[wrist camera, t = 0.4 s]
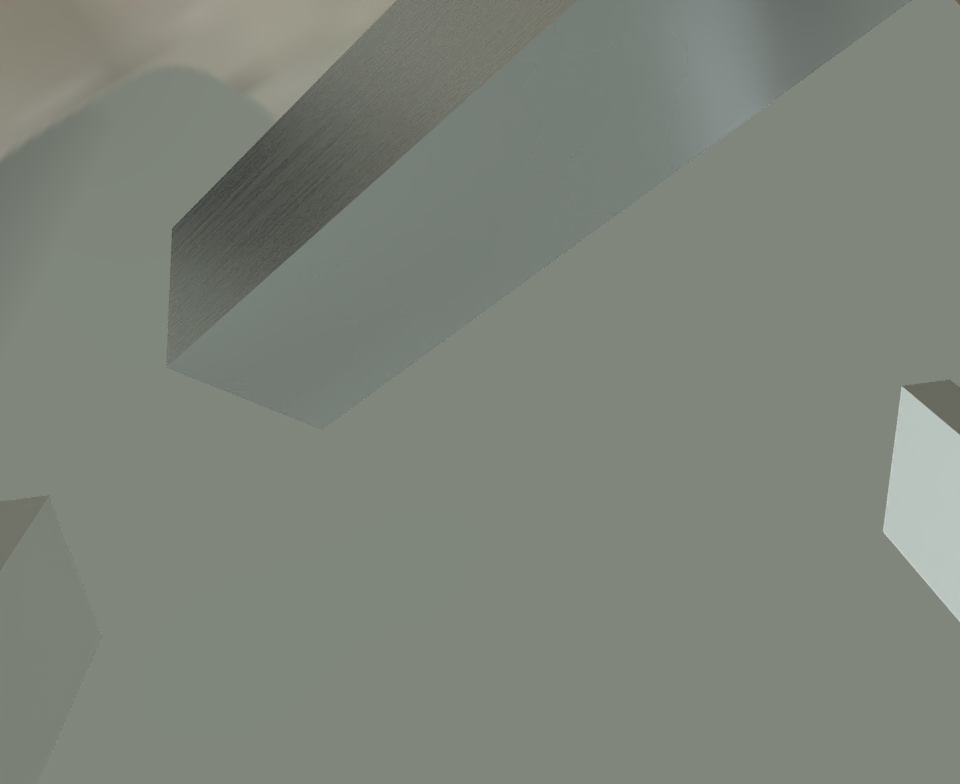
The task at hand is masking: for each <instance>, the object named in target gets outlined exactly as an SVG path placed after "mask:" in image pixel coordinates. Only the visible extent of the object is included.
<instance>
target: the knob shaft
mask: <svg viewBox="0 0 960 784" xmlns="http://www.w3.org/2000/svg"><path fill="white" fill-rule="evenodd" d="M910 1H911V0H396V1H395V2H394V3H393V4H392V5H391V6H390V7H389V8H388V9H387V10H386V12H385V13H384V14H383V15H382V16H381V17H380V18H379V19H378V20H377V21H376V22H375V23H374V24H373V25H372V26H371V27H370V28H369V29H368V30H367V31H366V32H365V33H364V34H363V35H362V36H361V37H360V38H359V39H358V40H357V41H356V42H355V43H354V44H353V45H352V46H351V47H350V48H349V49H348V50H347V51H346V52H345V53H344V54H343V55H342V56H341V57H340V58H339V59H338V60H337V61H336V62H335V63H334V64H333V65H332V66H331V67H330V68H329V69H328V71H327V72H326V73H325V74H324V75H323V76H322V77H321V78H320V79H319V80H318V81H317V82H316V83H315V84H314V85H313V86H312V87H311V88H310V89H309V90H308V91H307V92H306V93H305V94H304V95H303V96H302V97H301V98H300V99H299V100H298V101H297V102H296V103H295V104H294V105H293V106H292V107H291V108H290V109H289V110H288V111H287V112H286V113H285V114H284V115H283V116H282V117H281V118H280V119H279V120H278V121H277V122H276V123H275V124H274V126H272V127H271V129H269V131H268V132H267V133H266V134H265V135H264V136H263V137H262V138H261V139H260V140H259V141H258V142H257V143H256V144H255V145H254V146H253V147H252V148H251V149H250V150H249V151H248V152H247V153H246V154H245V155H244V156H243V157H242V158H241V159H240V160H239V161H238V162H237V163H236V164H235V165H234V166H233V167H232V168H231V169H230V170H229V171H228V172H227V173H226V174H225V175H224V176H223V177H222V178H221V179H220V180H219V181H218V182H217V183H216V184H215V185H214V187H212V189H211V190H210V191H209V192H208V193H207V194H206V195H205V196H204V197H203V198H202V199H201V200H200V201H199V202H198V203H197V204H196V205H195V206H194V207H193V208H192V209H191V210H190V211H189V212H188V213H187V214H186V215H185V216H184V217H183V218H182V219H181V220H180V221H179V222H178V223H177V224H176V225H175V226H174V227H173V228H172V244H171V269H170V293H169V316H168V340H167V341H168V342H167V364H166V366H167V368H170V369H172V370H174V371H177V372H179V373H182V374H184V375H187V376H189V377H192V378H194V379H197V380H199V381H202V382H204V383H207V384H210V385H212V386H215V387H217V388H219V389H222V390H225V391H227V392H229V393H232V394H234V395H237V396H240V397H242V398H244V399H247V400H250V401H252V402H254V403H257V404H259V405H262V406H265V407H267V408H269V409H272V410H274V411H277V412H279V413H282V414H284V415H287V416H289V417H292V418H294V419H297V420H299V421H302V422H305V423H307V424H309V425H312V426H314V427H317V428H319V429H323V428H325V427H326V426H327V425H329V424H330V423H331V422H333V421H334V420H335V419H337V418H338V417H340V416H341V415H343V414H344V413H345V412H346V411H348V410H349V409H351V408H352V407H353V406H355V405H356V404H357V403H359V402H360V401H362V400H363V399H364V398H366V397H367V396H369V395H370V394H371V393H373V392H374V391H375V390H377V389H378V388H379V387H381V386H382V385H384V384H385V383H386V382H388V381H389V380H391V379H392V378H393V377H395V376H396V375H397V374H399V373H400V372H402V371H403V370H404V369H405V368H407V367H408V366H410V365H411V364H412V363H414V362H415V361H417V360H418V359H419V358H421V357H422V356H424V355H425V354H426V353H428V352H429V351H430V350H432V349H433V348H435V347H436V346H437V345H439V344H440V343H441V342H443V341H444V340H446V339H447V338H448V337H450V336H451V335H452V334H454V333H455V332H456V331H458V330H459V329H461V328H462V327H463V326H465V325H466V324H467V323H469V322H470V321H472V320H473V319H474V318H476V317H477V316H479V315H480V314H481V313H483V312H484V311H485V310H487V309H488V308H489V307H491V306H492V305H493V304H495V303H496V302H498V301H499V300H501V299H502V298H503V297H504V296H506V295H507V294H509V293H510V292H511V291H513V290H514V289H516V288H517V287H518V286H520V285H521V284H522V283H524V282H525V281H527V280H528V279H529V278H531V277H532V276H533V275H535V274H536V273H538V272H539V271H540V270H542V269H543V268H544V267H546V266H547V265H549V264H550V263H551V262H553V261H554V260H555V259H557V258H558V257H559V256H561V255H562V254H564V253H565V252H566V251H568V250H569V249H571V248H572V247H573V246H575V245H576V244H577V243H579V242H580V241H582V240H583V239H584V238H586V237H587V236H588V235H590V234H591V233H592V232H594V231H595V230H597V229H598V228H599V227H601V226H602V225H604V224H605V223H606V222H608V221H609V220H610V219H612V218H613V217H615V216H616V215H617V214H618V213H620V212H621V211H623V210H624V209H625V208H627V207H628V206H630V205H631V204H632V203H634V202H635V201H636V200H638V199H639V198H641V197H642V196H643V195H645V194H646V193H648V192H649V191H650V190H652V189H653V188H654V187H656V186H657V185H658V184H660V183H661V182H663V181H664V180H665V179H667V178H668V177H669V176H671V175H672V174H674V173H675V172H676V171H678V170H679V169H680V168H682V167H683V166H685V165H686V164H687V163H689V162H690V161H691V160H693V159H694V158H695V157H697V156H698V155H700V154H701V153H702V152H704V151H705V150H707V149H708V148H709V147H711V146H712V145H713V144H715V143H716V142H718V141H719V140H720V139H721V138H723V137H724V136H726V135H727V134H728V133H730V132H731V131H733V130H734V129H735V128H737V127H738V126H740V125H741V124H742V123H744V122H745V121H746V120H748V119H749V118H751V117H752V116H753V115H755V114H756V113H757V112H759V111H760V110H762V109H763V108H764V107H765V106H767V105H768V104H770V103H771V102H773V101H774V100H775V99H777V98H778V97H779V96H781V95H782V94H784V93H785V92H786V91H788V90H789V89H790V88H792V87H793V86H795V85H796V84H797V83H799V82H800V81H801V80H803V79H804V78H805V77H807V76H808V75H810V74H811V73H812V72H814V71H815V70H816V69H818V68H819V67H821V66H822V65H823V64H825V63H826V62H827V61H829V60H830V59H832V58H833V57H834V56H836V55H837V54H838V53H840V52H841V51H843V50H844V49H845V48H847V47H848V46H849V45H851V44H852V43H853V42H855V41H856V40H858V39H859V38H860V37H862V36H863V35H865V34H866V33H867V32H869V31H870V30H871V29H872V28H874V27H875V26H877V25H878V24H880V23H881V22H882V21H884V20H885V19H887V18H888V17H889V16H891V15H892V14H893V13H895V12H896V11H897V10H899V9H900V8H901V7H903V6H904V5H906V4H907V3H908V2H910Z"/></svg>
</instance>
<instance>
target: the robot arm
mask: <svg viewBox="0 0 960 784" xmlns="http://www.w3.org/2000/svg"><path fill="white" fill-rule="evenodd" d="M883 532H884V533H885V535H886V536H887V537H888V538H889V539H890V540H891V542H892V543H893V544H894V545H895V546H896V548H897V549H898V550H899V551H900V552H901V553H902V555H903V556H904V557H905V558H906V559H907V560H908V561H909V563H910V564H911V565H912V566H913V567H914V569H915V570H916V571H917V572H918V573H919V574H920V576H921V577H922V578H923V579H924V580H925V582H926V583H927V584H928V585H929V586H930V587H931V588H932V590H933V591H934V592H935V593H936V594H937V596H938V597H939V598H940V599H941V600H942V602H943V603H944V604H945V605H946V606H947V607H948V609H949V610H950V611H951V612H952V613H953V614H954V616H955V617H956V618H957V619H958V620H959V621H960V387H959V386H957V385H956V384H955V383H953V382H952V381H951V380H945V381H937V382H929V383H921V384H914V385H906V386H902V388H901V396H900V404H899V411H898V419H897V427H896V435H895V442H894V450H893V458H892V466H891V473H890V481H889V490H888V497H887V505H886V512H885V520H884V528H883ZM101 638H102V634H101V631H100V629H99V626H98V623H97V620H96V618H95V615H94V612H93V610H92V607H91V604H90V602H89V599H88V596H87V594H86V591H85V589H84V586H83V583H82V580H81V578H80V575H79V572H78V570H77V567H76V565H75V562H74V559H73V557H72V554H71V551H70V549H69V546H68V543H67V541H66V538H65V535H64V533H63V531H62V527H61V525H60V522H59V519H58V517H57V514H56V511H55V509H54V506H53V504H52V501H51V498H50V495H47V496H39V497H31V498H23V499H16V500H8V501H0V784H38V783H39V780H40V778H41V776H42V773H43V771H44V769H45V767H46V764H47V762H48V759H49V757H50V755H51V753H52V750H53V748H54V746H55V744H56V741H57V739H58V737H59V734H60V732H61V730H62V727H63V725H64V722H65V720H66V718H67V716H68V714H69V711H70V709H71V707H72V704H73V702H74V700H75V698H76V695H77V693H78V691H79V688H80V686H81V684H82V681H83V679H84V677H85V675H86V672H87V669H88V668H89V665H90V663H91V661H92V659H93V656H94V654H95V652H96V649H97V647H98V645H99V642H100V640H101Z"/></svg>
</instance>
